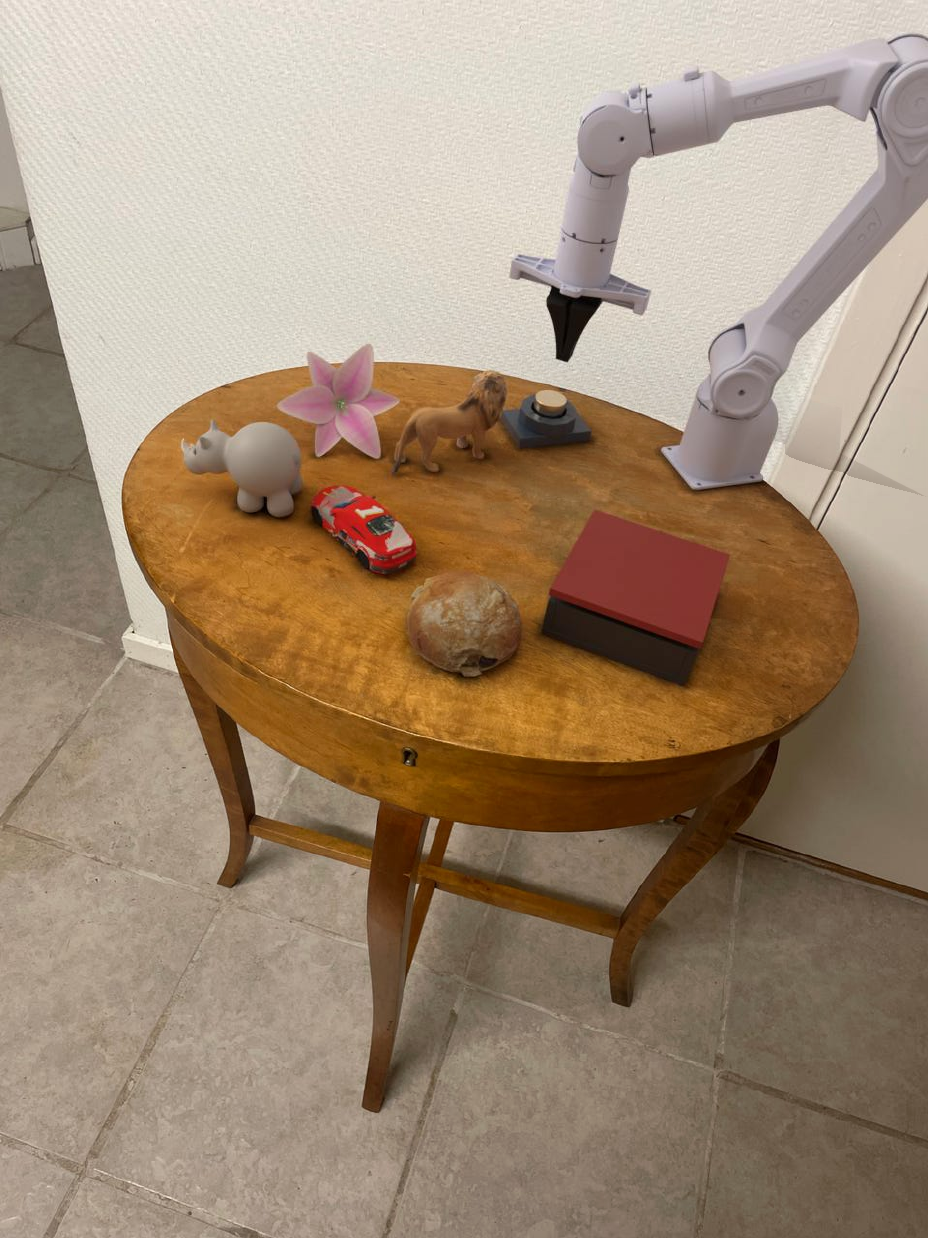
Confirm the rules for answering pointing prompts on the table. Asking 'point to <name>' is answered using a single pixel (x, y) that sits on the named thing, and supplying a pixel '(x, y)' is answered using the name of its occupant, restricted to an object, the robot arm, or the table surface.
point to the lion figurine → (456, 420)
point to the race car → (364, 528)
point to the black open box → (618, 641)
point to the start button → (549, 404)
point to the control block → (544, 426)
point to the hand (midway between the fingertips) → (564, 356)
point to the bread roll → (463, 622)
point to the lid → (643, 578)
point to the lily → (341, 402)
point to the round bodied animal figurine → (251, 464)
